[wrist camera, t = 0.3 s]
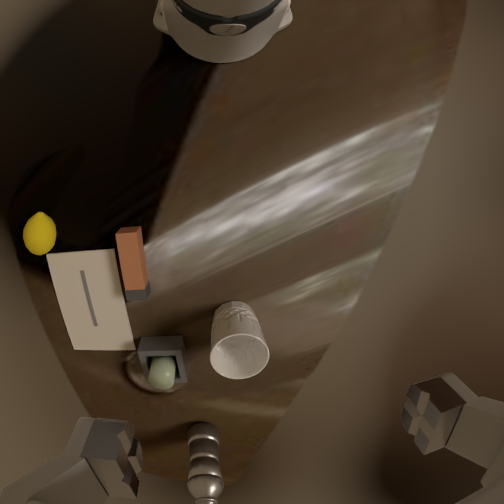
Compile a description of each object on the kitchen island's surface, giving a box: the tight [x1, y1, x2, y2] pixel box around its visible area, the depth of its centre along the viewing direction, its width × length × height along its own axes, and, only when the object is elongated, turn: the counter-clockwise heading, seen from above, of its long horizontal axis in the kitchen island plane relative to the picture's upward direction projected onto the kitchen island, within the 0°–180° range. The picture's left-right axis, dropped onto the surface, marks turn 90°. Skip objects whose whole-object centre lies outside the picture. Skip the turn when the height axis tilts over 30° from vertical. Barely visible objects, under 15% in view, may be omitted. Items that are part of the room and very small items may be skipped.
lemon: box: [23, 211, 56, 255], centre depth 39 cm, size 7×5×5 cm
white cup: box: [210, 301, 269, 379], centre depth 46 cm, size 8×8×10 cm
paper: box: [46, 249, 136, 350], centre depth 47 cm, size 18×12×1 cm, turn 2°
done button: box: [148, 355, 176, 389], centre depth 47 cm, size 4×4×5 cm
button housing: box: [137, 335, 188, 384], centre depth 50 cm, size 7×7×4 cm
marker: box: [115, 226, 150, 301], centre depth 44 cm, size 10×3×3 cm, turn 2°
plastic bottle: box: [187, 423, 224, 504], centre depth 50 cm, size 6×7×20 cm
